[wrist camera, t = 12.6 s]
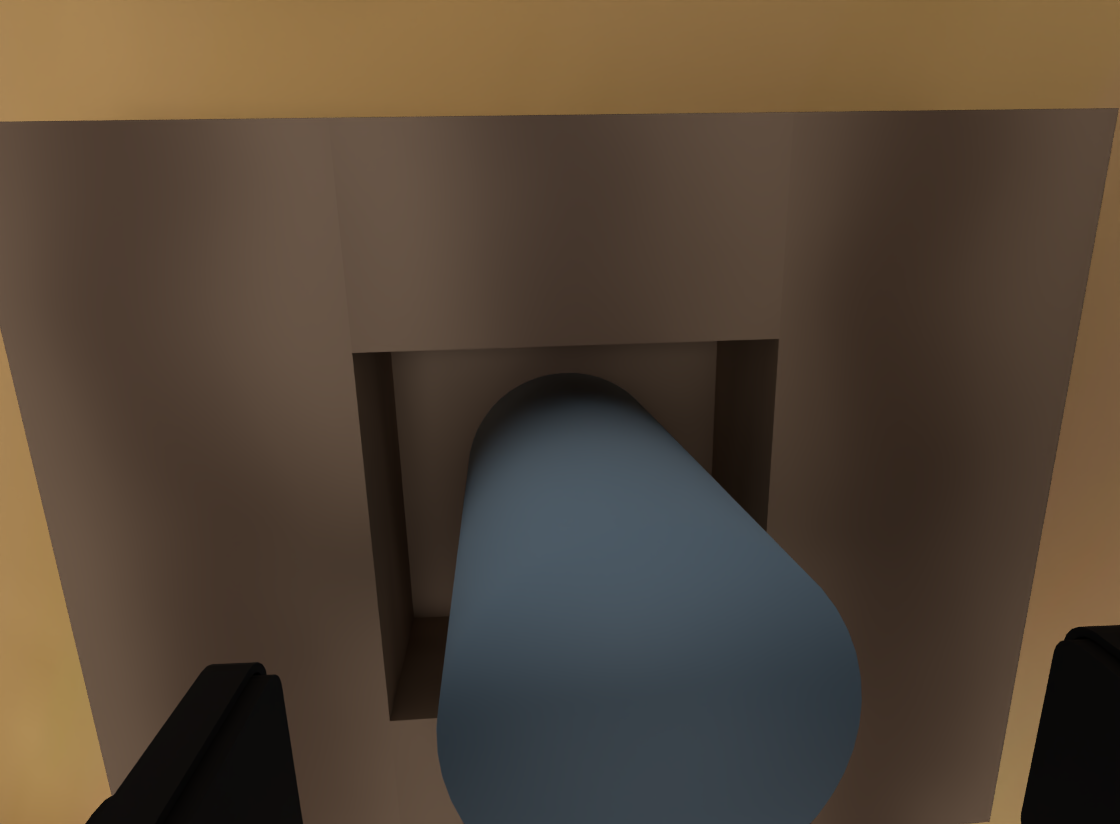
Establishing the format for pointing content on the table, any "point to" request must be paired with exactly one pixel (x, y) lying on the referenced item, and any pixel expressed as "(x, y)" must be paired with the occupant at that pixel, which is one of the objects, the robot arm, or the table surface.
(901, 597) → the peg block
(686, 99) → the table surface
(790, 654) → the peg
